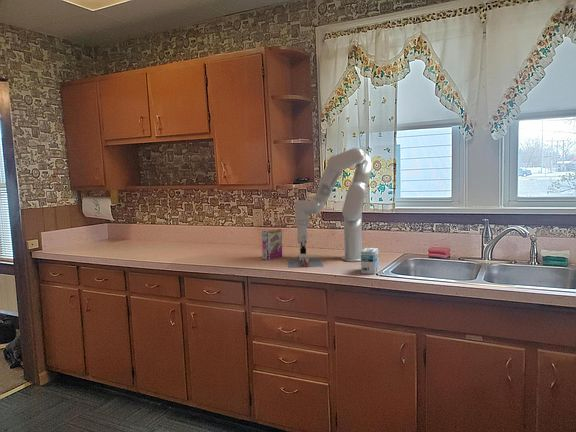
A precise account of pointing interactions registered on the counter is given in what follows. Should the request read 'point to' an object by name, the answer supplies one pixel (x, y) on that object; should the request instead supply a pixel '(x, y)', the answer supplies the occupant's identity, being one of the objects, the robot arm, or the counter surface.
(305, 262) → the tongs fixed
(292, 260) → the mat
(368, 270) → the light bulb box
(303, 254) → the lock tab
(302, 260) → the tong arm
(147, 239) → the counter surface
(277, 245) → the candy bar box
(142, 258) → the counter surface
